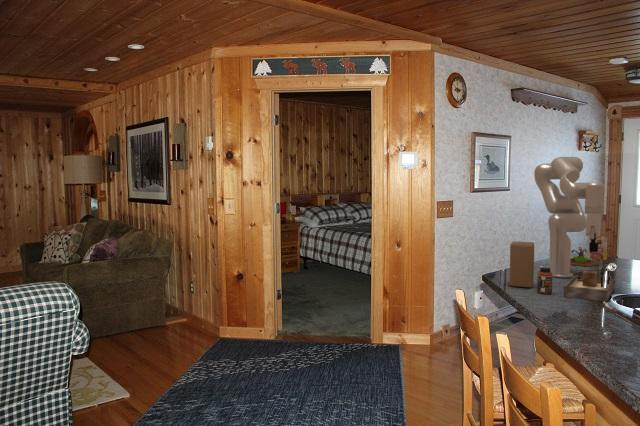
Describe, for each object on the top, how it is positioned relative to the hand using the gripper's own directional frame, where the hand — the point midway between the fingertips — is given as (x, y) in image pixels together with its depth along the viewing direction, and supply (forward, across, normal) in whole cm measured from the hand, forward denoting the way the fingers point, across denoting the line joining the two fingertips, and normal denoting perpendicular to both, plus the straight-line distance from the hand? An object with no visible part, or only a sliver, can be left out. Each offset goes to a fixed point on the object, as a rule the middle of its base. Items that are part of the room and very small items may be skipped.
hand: (593, 251), depth 222 cm
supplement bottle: (+17, +19, -16) cm, 31 cm away
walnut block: (+14, +7, 0) cm, 16 cm away
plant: (+16, -64, -13) cm, 67 cm away
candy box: (+16, -84, -6) cm, 85 cm away
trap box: (+17, +8, 0) cm, 19 cm away
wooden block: (+17, +8, -28) cm, 34 cm away
